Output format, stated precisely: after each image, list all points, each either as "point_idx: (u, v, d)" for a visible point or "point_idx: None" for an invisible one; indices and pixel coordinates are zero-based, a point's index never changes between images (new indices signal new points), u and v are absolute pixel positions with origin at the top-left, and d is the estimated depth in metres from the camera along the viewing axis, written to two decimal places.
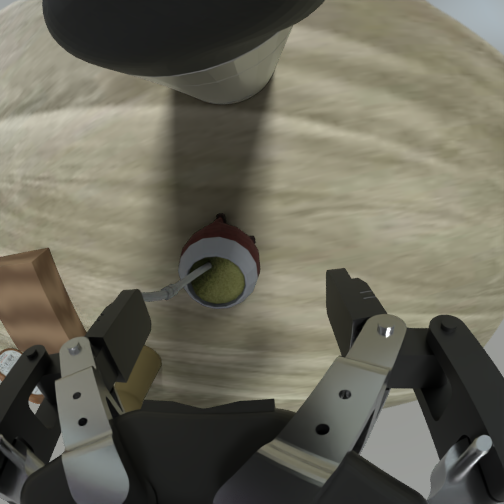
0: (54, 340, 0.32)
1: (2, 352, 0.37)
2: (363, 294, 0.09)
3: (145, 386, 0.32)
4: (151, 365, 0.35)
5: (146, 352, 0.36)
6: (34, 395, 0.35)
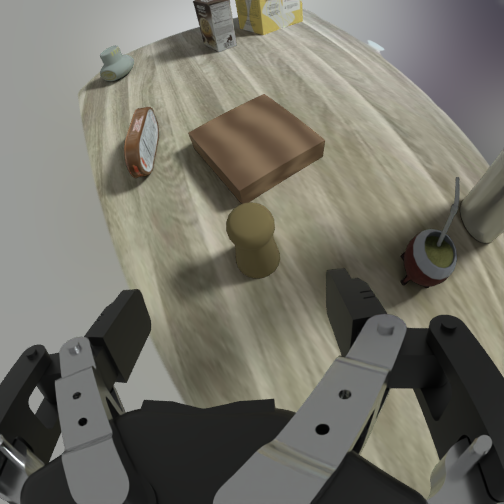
0: (246, 163, 0.41)
1: (155, 119, 0.49)
2: (363, 294, 0.09)
3: (266, 252, 0.33)
4: (273, 261, 0.36)
5: (278, 255, 0.38)
6: (138, 144, 0.40)
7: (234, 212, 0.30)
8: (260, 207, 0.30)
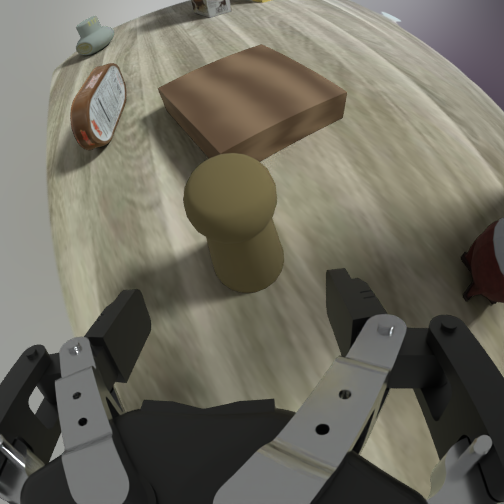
0: (233, 117, 0.26)
1: (123, 81, 0.34)
2: (363, 294, 0.09)
3: (262, 249, 0.18)
4: (273, 265, 0.21)
5: (282, 255, 0.23)
6: (88, 102, 0.26)
7: (198, 170, 0.15)
8: (248, 160, 0.15)
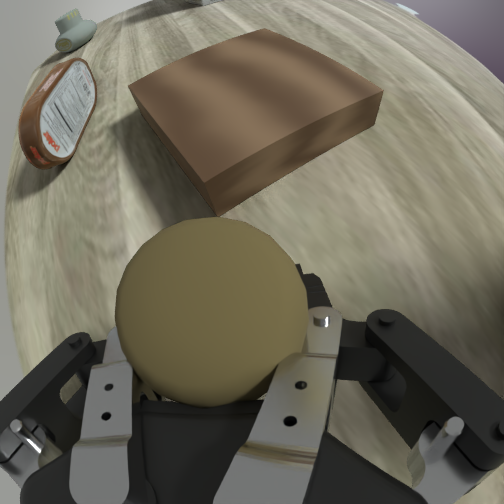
0: (224, 124, 0.17)
1: (92, 79, 0.26)
2: (313, 288, 0.10)
3: None
4: None
5: None
6: (39, 110, 0.17)
7: (137, 263, 0.07)
8: (247, 243, 0.07)
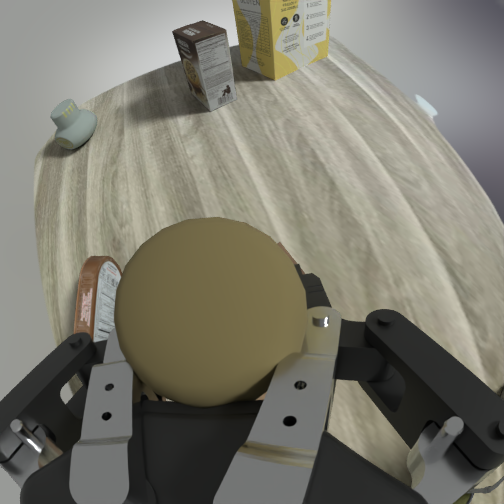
0: None
1: (116, 265, 0.35)
2: (313, 288, 0.10)
3: None
4: None
5: None
6: None
7: (137, 263, 0.07)
8: (247, 244, 0.07)
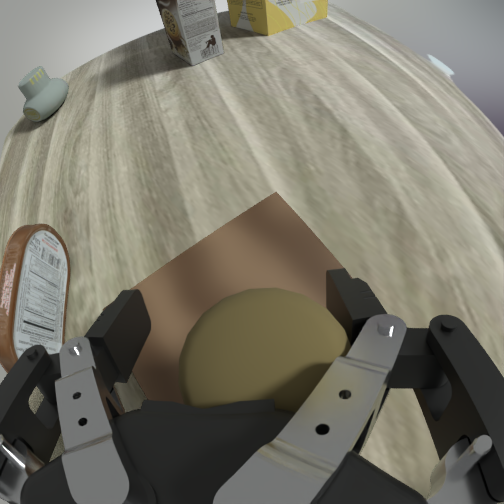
0: None
1: (58, 238, 0.23)
2: (363, 294, 0.09)
3: None
4: None
5: None
6: (12, 349, 0.15)
7: (202, 337, 0.07)
8: (308, 323, 0.07)
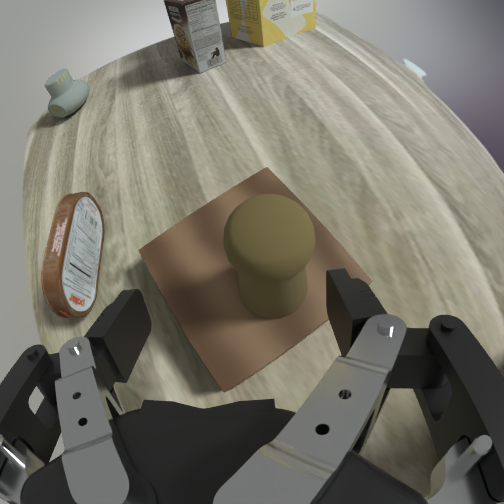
0: (235, 336, 0.23)
1: (96, 205, 0.32)
2: (363, 294, 0.09)
3: (294, 285, 0.19)
4: (300, 295, 0.22)
5: None
6: (60, 282, 0.23)
7: (239, 211, 0.15)
8: (289, 204, 0.15)
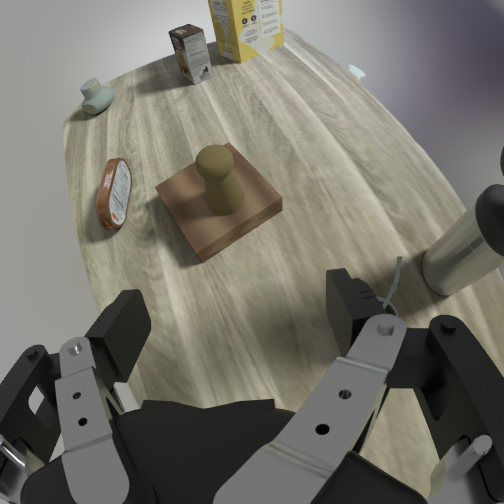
0: (204, 224, 0.44)
1: (128, 167, 0.53)
2: (363, 294, 0.09)
3: (228, 187, 0.40)
4: (237, 199, 0.43)
5: (242, 196, 0.44)
6: (108, 202, 0.44)
7: (201, 151, 0.36)
8: (221, 147, 0.36)
